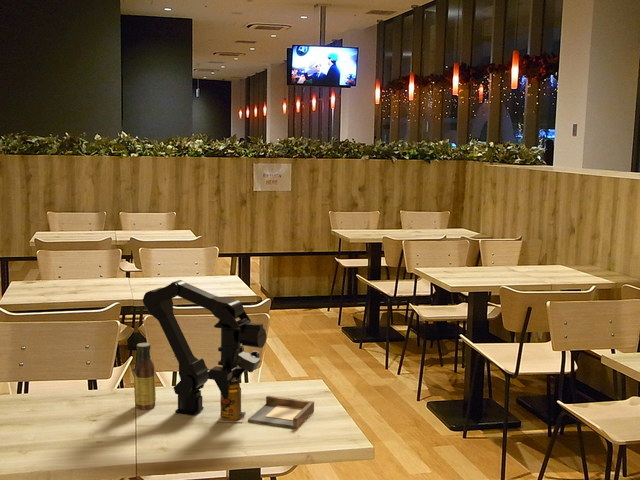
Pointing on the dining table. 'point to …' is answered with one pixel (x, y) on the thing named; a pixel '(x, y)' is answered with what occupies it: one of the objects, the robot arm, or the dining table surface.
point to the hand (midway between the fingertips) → (230, 395)
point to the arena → (283, 412)
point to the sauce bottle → (144, 378)
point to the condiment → (232, 404)
